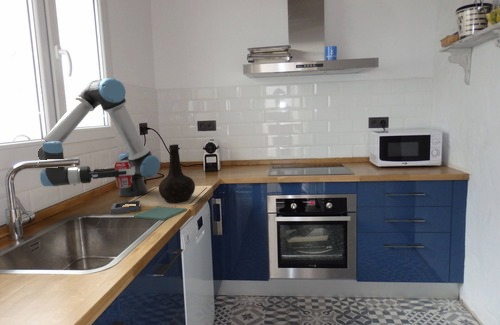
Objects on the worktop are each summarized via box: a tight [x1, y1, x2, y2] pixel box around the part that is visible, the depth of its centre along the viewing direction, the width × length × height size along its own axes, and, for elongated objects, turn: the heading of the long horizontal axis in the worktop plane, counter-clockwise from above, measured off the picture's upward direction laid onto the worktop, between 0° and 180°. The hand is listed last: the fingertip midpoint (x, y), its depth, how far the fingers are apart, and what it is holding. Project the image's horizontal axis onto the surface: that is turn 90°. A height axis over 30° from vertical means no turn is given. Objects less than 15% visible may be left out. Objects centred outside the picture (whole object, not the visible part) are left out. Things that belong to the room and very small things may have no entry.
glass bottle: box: [158, 143, 196, 203], centre depth 180 cm, size 18×18×28 cm
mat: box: [133, 205, 188, 221], centre depth 158 cm, size 16×16×1 cm
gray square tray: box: [110, 200, 141, 215], centre depth 170 cm, size 12×12×2 cm
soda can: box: [114, 160, 132, 189], centre depth 167 cm, size 7×7×12 cm
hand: (134, 170), depth 167 cm, fingers closed on soda can, 6 cm apart
